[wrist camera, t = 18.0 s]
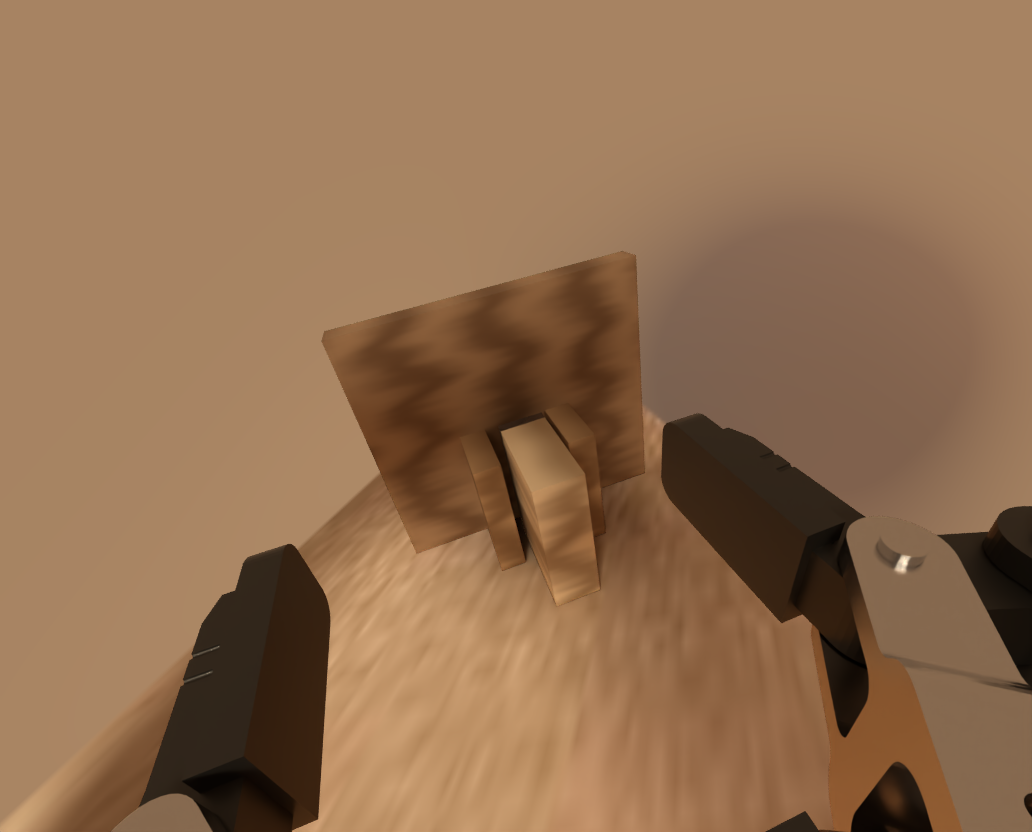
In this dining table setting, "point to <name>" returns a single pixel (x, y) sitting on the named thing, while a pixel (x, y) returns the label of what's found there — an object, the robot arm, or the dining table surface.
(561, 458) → the rail end
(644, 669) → the dining table surface
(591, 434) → the zigzag wooden panel
